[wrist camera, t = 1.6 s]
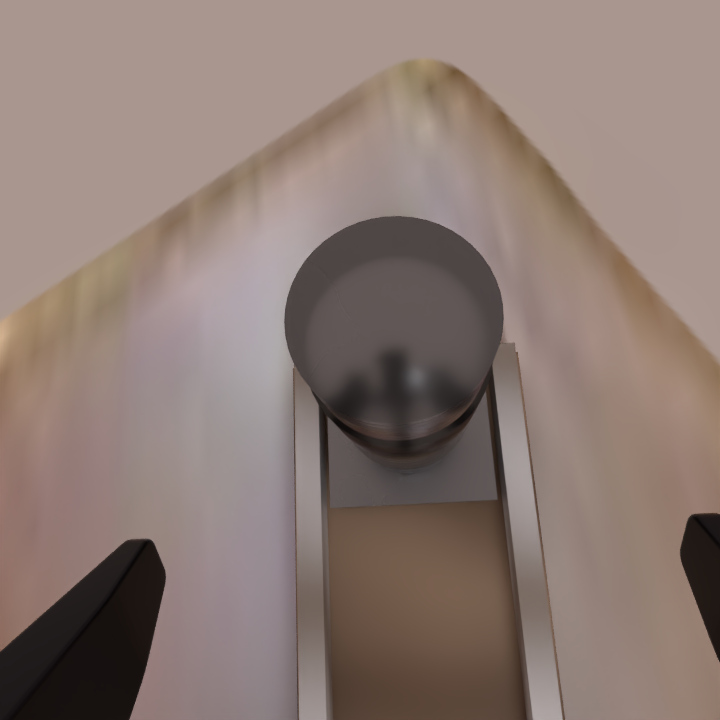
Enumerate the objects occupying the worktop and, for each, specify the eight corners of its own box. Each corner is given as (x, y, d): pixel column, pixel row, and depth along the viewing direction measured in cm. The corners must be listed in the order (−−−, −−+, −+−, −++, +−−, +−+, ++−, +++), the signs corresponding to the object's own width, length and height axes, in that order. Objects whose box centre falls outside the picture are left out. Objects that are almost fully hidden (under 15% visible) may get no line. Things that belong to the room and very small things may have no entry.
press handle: (490, 500, 18) (595, 479, 7) (337, 508, 18) (222, 498, 8) (475, 352, 19) (543, 149, 9) (332, 363, 20) (229, 182, 9)
